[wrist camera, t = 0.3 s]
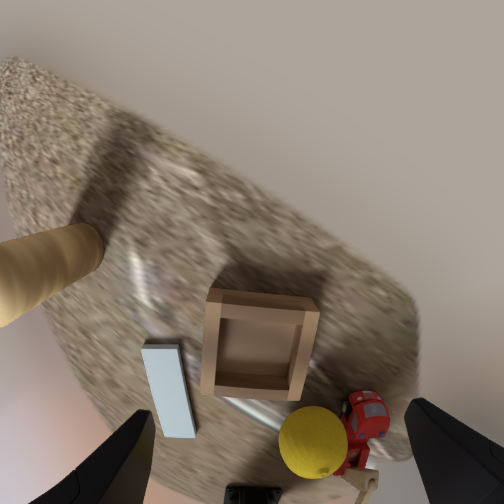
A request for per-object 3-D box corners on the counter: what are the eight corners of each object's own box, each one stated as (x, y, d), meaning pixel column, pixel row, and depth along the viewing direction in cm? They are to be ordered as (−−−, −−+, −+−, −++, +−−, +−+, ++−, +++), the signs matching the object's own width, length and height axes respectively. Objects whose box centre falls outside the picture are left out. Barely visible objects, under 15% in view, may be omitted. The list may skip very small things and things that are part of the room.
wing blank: (196, 432, 25) (195, 438, 24) (166, 431, 25) (165, 436, 24) (178, 344, 23) (177, 349, 22) (143, 344, 23) (140, 348, 22)
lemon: (276, 390, 24) (289, 457, 16) (338, 386, 24) (367, 447, 17) (272, 433, 25) (281, 497, 17) (328, 429, 26) (349, 489, 18)
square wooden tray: (293, 379, 24) (299, 400, 21) (203, 372, 24) (200, 394, 21) (310, 297, 23) (320, 312, 20) (210, 287, 22) (205, 301, 19)
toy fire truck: (379, 386, 25) (424, 454, 15) (337, 474, 27) (357, 536, 18) (348, 387, 25) (386, 461, 15) (310, 476, 27) (325, 541, 18)
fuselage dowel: (103, 276, 22) (20, 335, 11) (62, 269, 22) (-27, 317, 11) (104, 225, 21) (10, 253, 10) (62, 220, 21) (-36, 244, 10)
